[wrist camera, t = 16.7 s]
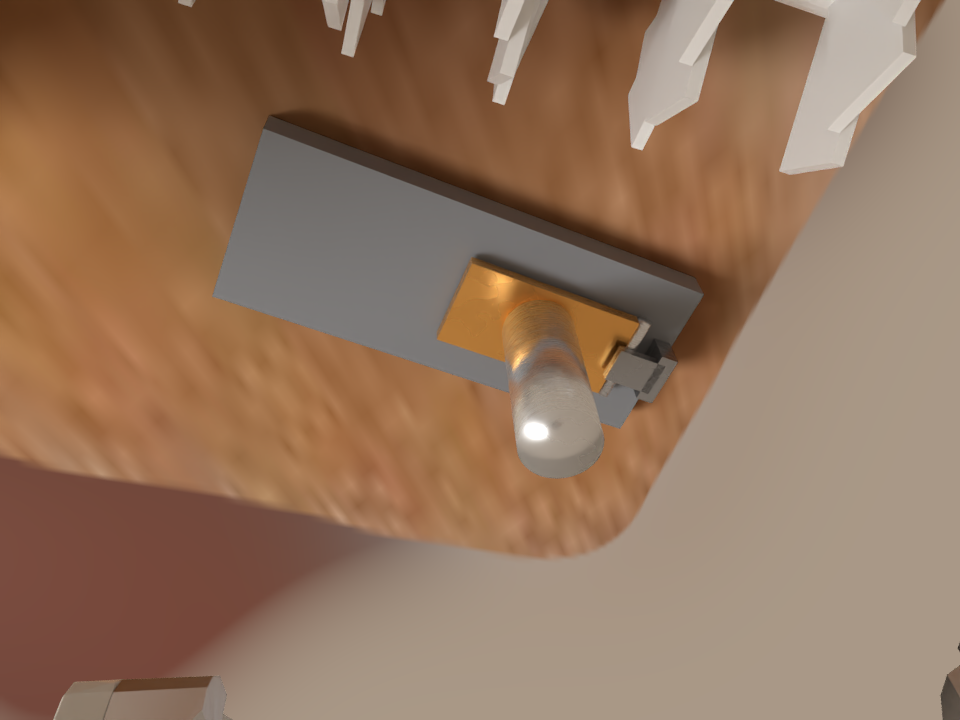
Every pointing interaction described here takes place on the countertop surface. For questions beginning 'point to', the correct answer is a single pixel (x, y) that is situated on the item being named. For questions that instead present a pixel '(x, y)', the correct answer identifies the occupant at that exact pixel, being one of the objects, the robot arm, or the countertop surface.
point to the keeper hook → (642, 369)
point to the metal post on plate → (543, 359)
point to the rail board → (414, 257)
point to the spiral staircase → (685, 55)
